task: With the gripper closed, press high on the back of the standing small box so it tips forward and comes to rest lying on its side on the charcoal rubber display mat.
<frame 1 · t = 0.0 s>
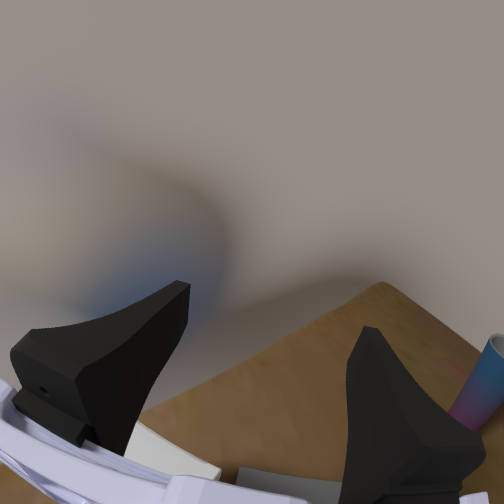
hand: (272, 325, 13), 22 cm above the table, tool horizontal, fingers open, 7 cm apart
cup: (448, 438, 31), on the table
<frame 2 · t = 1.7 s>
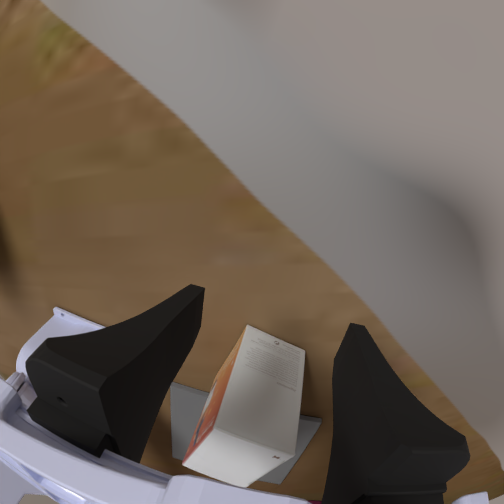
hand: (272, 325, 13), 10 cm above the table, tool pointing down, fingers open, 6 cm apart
small box: (257, 363, 28), on the table
display mat: (235, 442, 34), on the table
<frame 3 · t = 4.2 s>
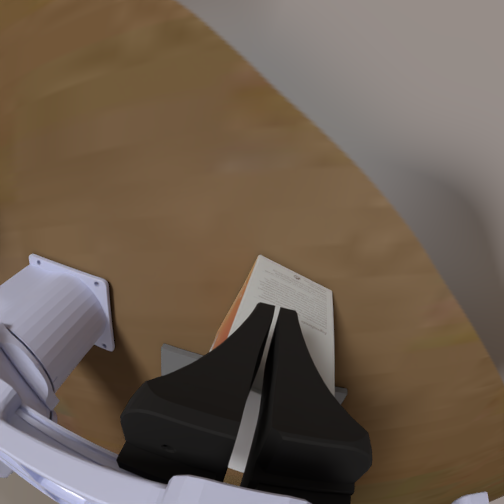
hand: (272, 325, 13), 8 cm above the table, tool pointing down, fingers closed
small box: (271, 311, 23), on the table, touching gripper
display mat: (239, 425, 29), on the table
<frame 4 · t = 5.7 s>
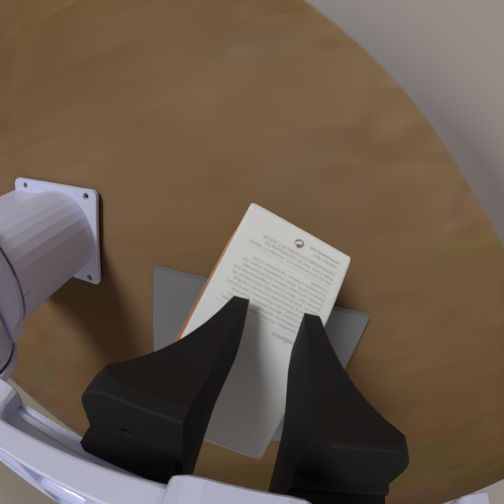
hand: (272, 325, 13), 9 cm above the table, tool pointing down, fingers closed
small box: (281, 245, 19), point 3 cm above the table, touching gripper
display mat: (242, 374, 27), on the table
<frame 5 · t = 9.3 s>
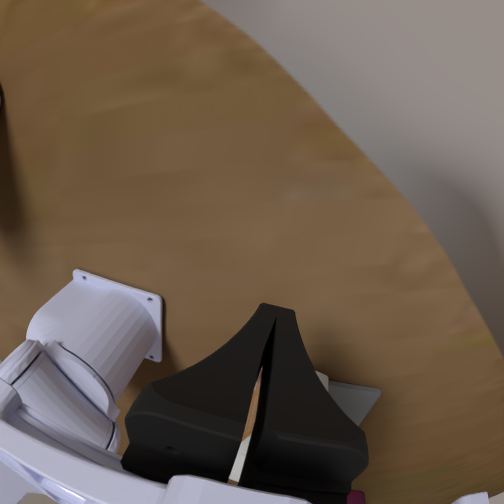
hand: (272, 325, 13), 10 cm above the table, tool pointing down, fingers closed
cup: (348, 494, 38), on the table
small box: (302, 396, 22), point 5 cm above the table, touching display mat
display mat: (278, 426, 31), on the table
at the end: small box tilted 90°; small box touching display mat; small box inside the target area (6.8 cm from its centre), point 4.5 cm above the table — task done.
